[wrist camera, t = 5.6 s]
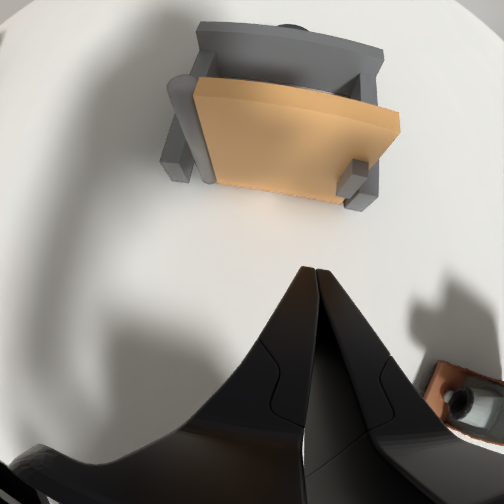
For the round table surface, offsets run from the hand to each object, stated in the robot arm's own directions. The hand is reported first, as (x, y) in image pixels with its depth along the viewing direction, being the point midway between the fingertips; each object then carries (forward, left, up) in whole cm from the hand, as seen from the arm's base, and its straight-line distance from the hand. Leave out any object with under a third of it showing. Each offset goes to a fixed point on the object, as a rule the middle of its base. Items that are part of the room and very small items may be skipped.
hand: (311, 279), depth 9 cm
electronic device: (+1, -17, -10) cm, 20 cm away
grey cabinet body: (+10, +7, -10) cm, 16 cm away
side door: (+5, +4, -10) cm, 12 cm away
